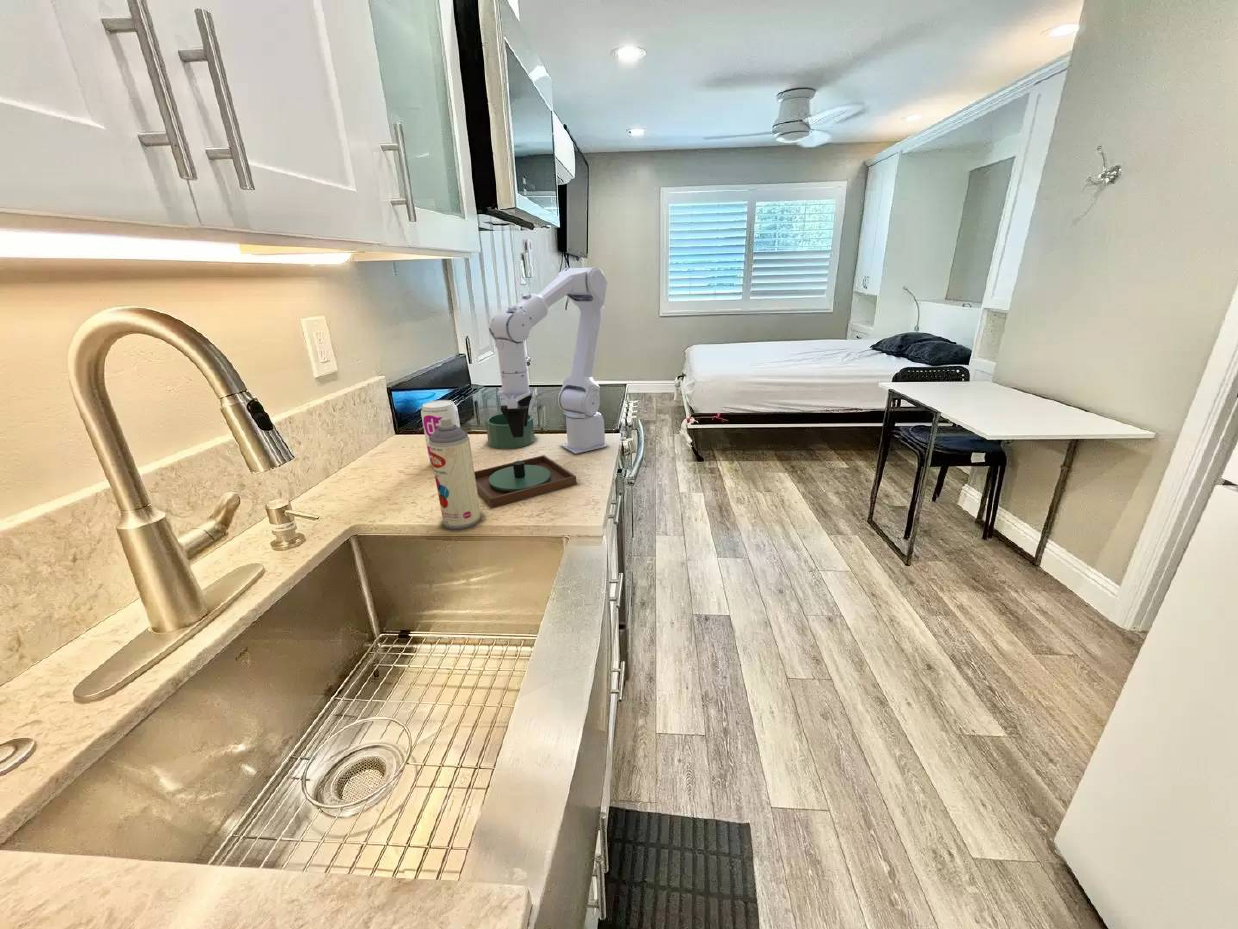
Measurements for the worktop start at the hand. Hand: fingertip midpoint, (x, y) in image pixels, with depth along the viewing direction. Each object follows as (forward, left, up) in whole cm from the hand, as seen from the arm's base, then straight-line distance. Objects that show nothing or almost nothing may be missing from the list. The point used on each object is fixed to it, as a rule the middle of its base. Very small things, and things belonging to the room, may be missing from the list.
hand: (520, 431), depth 110 cm
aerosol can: (+19, +15, -10) cm, 26 cm away
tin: (-6, -23, -10) cm, 26 cm away
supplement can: (+13, -17, -10) cm, 24 cm away
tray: (+3, +5, -10) cm, 12 cm away
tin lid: (+3, +5, -9) cm, 11 cm away
